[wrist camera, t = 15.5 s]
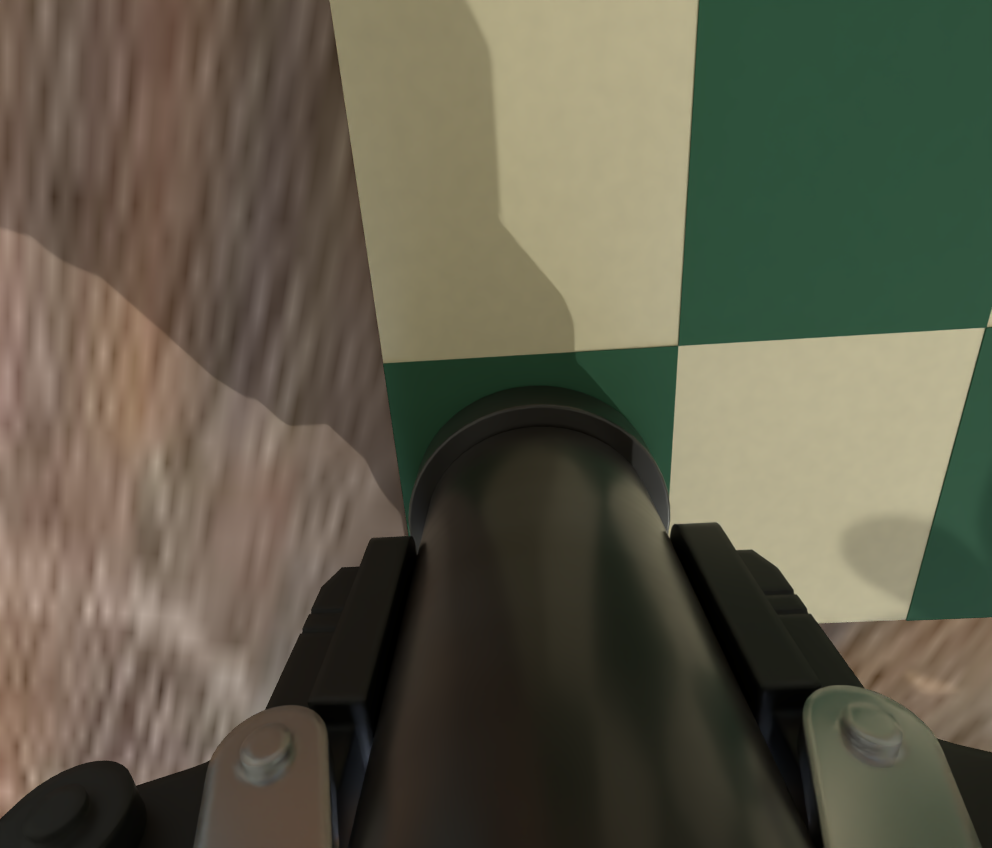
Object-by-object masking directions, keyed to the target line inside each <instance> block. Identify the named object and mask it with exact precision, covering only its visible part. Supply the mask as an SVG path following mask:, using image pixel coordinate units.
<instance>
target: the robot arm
mask: <svg viewBox="0 0 992 848" xmlns="http://www.w3.org/2000/svg"><path fill="white" fill-rule="evenodd" d="M670 540H671V542H672V544H673V546H674V548H675V551H676V553H677V555H678V557H679V559H680V561H681V563H682V565H683V568H684V570H685V572H686V574H687V576H688V578H689V580H690V582H691V584H692V587H693V589H694V591H695V593H696V595H697V597H698V599H699V601H700V603H701V606H702V608H703V610H704V612H705V614H706V616H707V618H708V620H709V623H710V625H711V627H712V629H713V631H714V633H715V635H716V637H717V639H718V642H719V644H720V646H721V648H722V650H723V652H724V654H725V656H726V658H727V661H728V663H729V665H730V667H731V669H732V671H733V673H734V675H735V678H736V680H737V682H738V684H739V686H740V688H741V690H742V692H743V694H744V697H745V699H746V701H747V703H748V705H749V707H750V709H751V711H752V713H753V716H754V718H755V720H756V722H757V724H758V726H759V728H760V730H761V732H762V735H763V737H764V739H765V741H766V743H767V745H768V747H769V749H770V752H771V754H772V756H773V758H774V760H775V762H776V764H777V766H778V768H779V771H780V773H781V775H782V777H783V779H784V781H785V783H786V785H787V787H788V790H789V792H790V794H791V796H792V798H793V800H794V802H795V804H796V807H797V809H798V811H799V813H800V815H801V817H802V819H803V821H804V823H805V826H806V828H807V830H808V832H809V834H810V836H811V838H812V840H813V842H814V845H815V847H816V848H992V752H988V751H983V750H979V749H975V748H970V747H966V746H962V745H957V744H954V743H950V742H946V741H943V740H940V739H937V738H936V737H935V736H934V734H933V733H932V731H931V730H930V729H929V728H928V727H927V726H926V725H925V724H924V722H923V721H921V720H920V719H919V718H918V717H917V716H916V715H915V714H913V713H912V712H911V711H909V710H908V709H907V708H905V707H904V706H902V705H901V704H899V703H897V702H895V701H894V700H892V699H890V698H888V697H886V696H884V695H882V694H879V693H877V692H874V691H871V690H868V689H865V688H864V687H863V685H862V684H861V683H860V681H859V680H858V678H857V677H856V676H855V674H854V673H853V671H852V670H851V669H850V667H849V666H848V665H847V663H846V662H845V660H844V659H843V658H842V656H841V655H840V653H839V652H838V651H837V649H836V648H835V646H834V645H833V644H832V642H831V641H830V639H829V638H828V637H827V635H826V634H825V633H824V631H823V630H822V628H821V627H820V626H819V624H818V623H817V621H816V620H815V619H814V617H813V616H812V614H808V611H807V608H806V606H805V605H804V603H803V602H802V601H801V599H800V598H799V596H798V595H797V594H794V589H793V588H792V587H791V585H790V584H789V583H788V581H787V580H786V578H785V577H784V576H783V574H782V573H781V571H780V570H779V569H778V567H776V566H775V565H773V564H772V563H771V562H769V561H768V560H766V559H765V558H763V557H762V556H761V555H759V554H758V553H756V552H755V551H754V550H752V549H750V550H736V549H735V547H734V546H733V544H732V543H731V541H730V540H729V538H728V536H727V535H726V533H725V532H724V530H723V529H722V527H721V526H720V524H718V523H717V522H709V523H687V524H674V525H673V526H672V528H671V533H670ZM416 559H417V550H416V544H415V540H414V538H413V537H412V536H402V537H382V538H372V539H371V540H370V541H369V543H368V546H367V549H366V551H365V554H364V556H363V559H362V562H361V564H360V567H342V568H341V569H340V570H339V571H338V572H337V573H336V574H335V575H334V576H333V577H332V578H331V579H330V580H328V581H327V582H326V583H325V584H324V585H323V586H322V587H321V590H320V592H319V594H318V596H317V598H316V600H315V603H314V605H313V607H312V609H311V614H309V616H308V618H307V620H306V622H305V624H304V626H303V632H302V634H300V635H299V637H298V640H297V642H296V644H295V646H294V648H293V650H292V653H291V655H290V657H289V659H288V661H287V663H286V666H285V668H284V670H283V672H282V674H281V676H280V679H279V681H278V683H277V685H276V687H275V690H274V692H273V694H272V696H271V698H270V700H269V703H268V705H267V707H266V709H265V710H264V711H261V712H259V713H257V714H255V715H253V716H251V717H250V718H248V719H246V720H245V721H243V722H242V723H241V724H239V725H238V726H237V727H235V728H234V729H233V730H232V731H231V732H230V733H229V734H228V735H227V736H226V737H225V738H224V739H223V741H222V742H221V743H220V744H219V746H218V747H217V749H216V750H215V752H214V753H213V755H212V758H211V760H210V761H208V762H206V763H203V764H201V765H198V766H196V767H193V768H190V769H187V770H184V771H181V772H177V773H174V774H171V775H168V776H165V777H162V778H159V779H156V780H153V781H150V782H147V783H144V784H140V785H137V786H136V785H135V783H134V781H133V778H132V776H131V774H130V773H129V771H128V769H126V768H125V767H124V766H123V765H121V764H119V763H117V762H112V761H95V762H89V763H85V764H82V765H78V766H75V767H73V768H70V769H68V770H66V771H63V772H61V773H59V774H58V775H56V776H54V777H52V778H50V779H49V780H47V781H45V782H44V783H42V784H41V785H39V786H38V787H36V788H35V789H34V790H32V791H31V792H30V793H28V794H27V795H26V796H25V797H24V798H23V799H21V800H20V801H19V802H18V803H17V804H16V805H15V806H14V807H13V808H12V809H10V810H9V811H8V812H7V813H6V814H5V815H4V816H3V817H2V818H1V819H0V848H348V844H349V839H350V835H351V831H352V827H353V823H354V818H355V814H356V810H357V806H358V802H359V798H360V793H361V789H362V785H363V781H364V777H365V772H366V768H367V764H368V760H369V756H370V751H371V747H372V743H373V739H374V735H375V730H376V726H377V722H378V718H379V714H380V710H381V705H382V701H383V697H384V693H385V689H386V684H387V680H388V676H389V672H390V668H391V663H392V659H393V655H394V651H395V647H396V642H397V638H398V634H399V630H400V626H401V622H402V617H403V613H404V609H405V605H406V601H407V596H408V592H409V588H410V584H411V580H412V575H413V571H414V567H415V563H416Z"/></svg>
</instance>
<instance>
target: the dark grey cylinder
mask: <svg viewBox="0 0 992 848" xmlns="http://www.w3.org/2000/svg"><path fill="white" fill-rule="evenodd" d="M408 519H409V532H410V536H412V537H413V538H414V540H415V544H416V550H417V559H416V563H415V567H414V571H413V575H412V580H411V584H410V588H409V592H408V596H407V601H406V605H405V609H404V613H403V617H402V622H401V626H400V630H399V634H398V638H397V642H396V647H395V651H394V655H393V659H392V663H391V668H390V672H389V676H388V680H387V684H386V689H385V693H384V697H383V701H382V705H381V710H380V714H379V718H378V722H377V726H376V730H375V735H374V739H373V743H372V747H371V751H370V756H369V760H368V764H367V768H366V772H365V777H364V781H363V785H362V789H361V793H360V798H359V802H358V806H357V810H356V814H355V818H354V823H353V827H352V831H351V835H350V839H349V844H348V848H816V847H815V845H814V842H813V840H812V838H811V836H810V834H809V832H808V830H807V828H806V826H805V823H804V821H803V819H802V817H801V815H800V813H799V811H798V809H797V807H796V804H795V802H794V800H793V798H792V796H791V794H790V792H789V790H788V787H787V785H786V783H785V781H784V779H783V777H782V775H781V773H780V771H779V768H778V766H777V764H776V762H775V760H774V758H773V756H772V754H771V752H770V749H769V747H768V745H767V743H766V741H765V739H764V737H763V735H762V732H761V730H760V728H759V726H758V724H757V722H756V720H755V718H754V716H753V713H752V711H751V709H750V707H749V705H748V703H747V701H746V699H745V697H744V694H743V692H742V690H741V688H740V686H739V684H738V682H737V680H736V678H735V675H734V673H733V671H732V669H731V667H730V665H729V663H728V661H727V658H726V656H725V654H724V652H723V650H722V648H721V646H720V644H719V642H718V639H717V637H716V635H715V633H714V631H713V629H712V627H711V625H710V623H709V620H708V618H707V616H706V614H705V612H704V610H703V608H702V606H701V603H700V601H699V599H698V597H697V595H696V593H695V591H694V589H693V587H692V584H691V582H690V580H689V578H688V576H687V574H686V572H685V570H684V568H683V565H682V563H681V561H680V559H679V557H678V555H677V553H676V551H675V548H674V546H673V544H672V542H671V540H670V538H669V536H668V533H669V526H670V501H669V495H668V490H667V487H666V484H665V481H664V478H663V475H662V473H661V471H660V469H659V467H658V466H657V464H656V462H655V460H654V458H653V456H652V454H651V453H650V451H649V449H648V447H647V445H646V444H645V442H644V440H643V438H642V437H641V436H640V434H639V433H638V432H637V430H636V429H635V427H634V426H633V425H632V424H631V423H630V422H629V421H628V420H627V419H626V418H625V417H624V416H623V415H621V414H620V413H619V412H617V411H616V410H615V409H614V408H612V407H611V406H609V405H607V404H606V403H604V402H602V401H600V400H599V399H597V398H595V397H592V396H590V395H587V394H585V393H582V392H579V391H575V390H571V389H567V388H562V387H554V386H524V387H516V388H511V389H507V390H503V391H499V392H496V393H493V394H491V395H488V396H485V397H483V398H481V399H479V400H477V401H475V402H473V403H471V404H470V405H468V406H466V407H465V408H464V409H462V410H461V411H459V412H458V413H457V414H455V415H454V416H453V417H452V418H451V419H450V420H449V421H448V422H447V423H446V424H445V425H443V427H442V428H441V429H440V430H439V432H438V433H437V434H436V435H435V437H434V438H433V440H432V441H431V443H430V445H429V446H428V448H427V450H426V452H425V454H424V457H423V459H422V462H421V464H420V467H419V471H418V474H417V477H416V481H415V484H414V487H413V491H412V495H411V499H410V504H409V517H408Z"/></svg>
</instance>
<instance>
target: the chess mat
mask: <svg viewBox="0 0 992 848" xmlns="http://www.w3.org/2000/svg"><path fill="white" fill-rule="evenodd" d="M330 6H331V13H332V20H333V27H334V33H335V40H336V47H337V54H338V60H339V67H340V74H341V81H342V87H343V94H344V101H345V108H346V114H347V121H348V128H349V135H350V141H351V148H352V155H353V161H354V168H355V175H356V182H357V188H358V195H359V202H360V209H361V215H362V222H363V229H364V236H365V242H366V249H367V256H368V263H369V269H370V276H371V283H372V289H373V296H374V303H375V310H376V316H377V323H378V330H379V337H380V343H381V350H382V357H383V367H384V373H385V380H386V387H387V393H388V400H389V407H390V414H391V420H392V427H393V434H394V441H395V447H396V454H397V461H398V467H399V474H400V481H401V488H402V494H403V501H404V508H405V515H406V521H407V528H408V535H409V536H410V532H409V519H408V517H409V504H410V499H411V495H412V491H413V487H414V484H415V481H416V477H417V474H418V471H419V467H420V464H421V462H422V459H423V457H424V454H425V452H426V450H427V448H428V446H429V445H430V443H431V441H432V440H433V438H434V437H435V435H436V434H437V433H438V432H439V430H440V429H441V428H442V427H443V425H445V424H446V423H447V422H448V421H449V420H450V419H451V418H452V417H453V416H454V415H455V414H457V413H458V412H459V411H461V410H462V409H464V408H465V407H466V406H468V405H470V404H471V403H473V402H475V401H477V400H479V399H481V398H483V397H485V396H488V395H491V394H493V393H496V392H499V391H503V390H507V389H511V388H516V387H524V386H554V387H562V388H567V389H571V390H575V391H579V392H582V393H585V394H587V395H590V396H592V397H595V398H597V399H599V400H600V401H602V402H604V403H606V404H607V405H609V406H611V407H612V408H614V409H615V410H616V411H617V412H619V413H620V414H621V415H623V416H624V417H625V418H626V419H627V420H628V421H629V422H630V423H631V424H632V425H633V426H634V427H635V429H636V430H637V432H638V433H639V434H640V436H641V437H642V438H643V440H644V442H645V444H646V445H647V447H648V449H649V451H650V453H651V454H652V456H653V458H654V460H655V462H656V464H657V466H658V467H659V469H660V471H661V473H662V475H663V478H664V481H665V484H666V487H667V490H668V495H669V501H670V526H669V533H668V536H669V538H670V533H671V528H672V526H673V525H674V524H687V523H709V522H717V523H718V524H720V526H721V527H722V529H723V530H724V532H725V533H726V535H727V536H728V538H729V540H730V541H731V543H732V544H733V546H734V547H735V549H736V550H750V549H752V550H754V551H755V552H756V553H758V554H759V555H761V556H762V557H763V558H765V559H766V560H768V561H769V562H771V563H772V564H773V565H775V566H776V567H778V569H779V570H780V571H781V573H782V574H783V576H784V577H785V578H786V580H787V581H788V583H789V584H790V585H791V587H792V588H793V589H794V594H797V595H798V596H799V598H800V599H801V601H802V602H803V603H804V605H805V606H806V608H807V611H808V614H812V616H813V617H814V619H815V620H816V621H817V623H837V622H861V621H886V620H907V621H912V620H937V619H961V618H986V617H992V0H330Z"/></svg>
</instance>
